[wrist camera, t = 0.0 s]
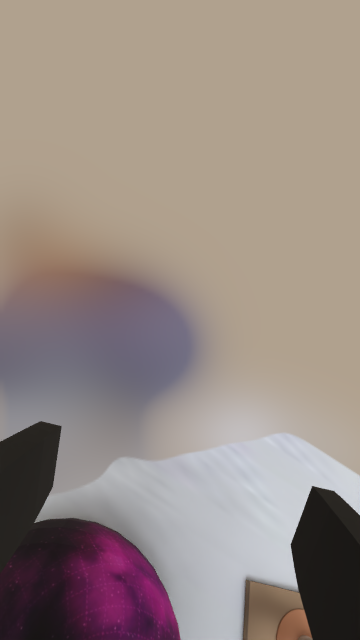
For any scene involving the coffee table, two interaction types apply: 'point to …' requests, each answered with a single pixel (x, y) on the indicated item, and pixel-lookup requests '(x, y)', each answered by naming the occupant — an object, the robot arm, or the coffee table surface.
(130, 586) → the decorative sphere
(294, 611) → the pin board
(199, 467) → the coffee table surface
